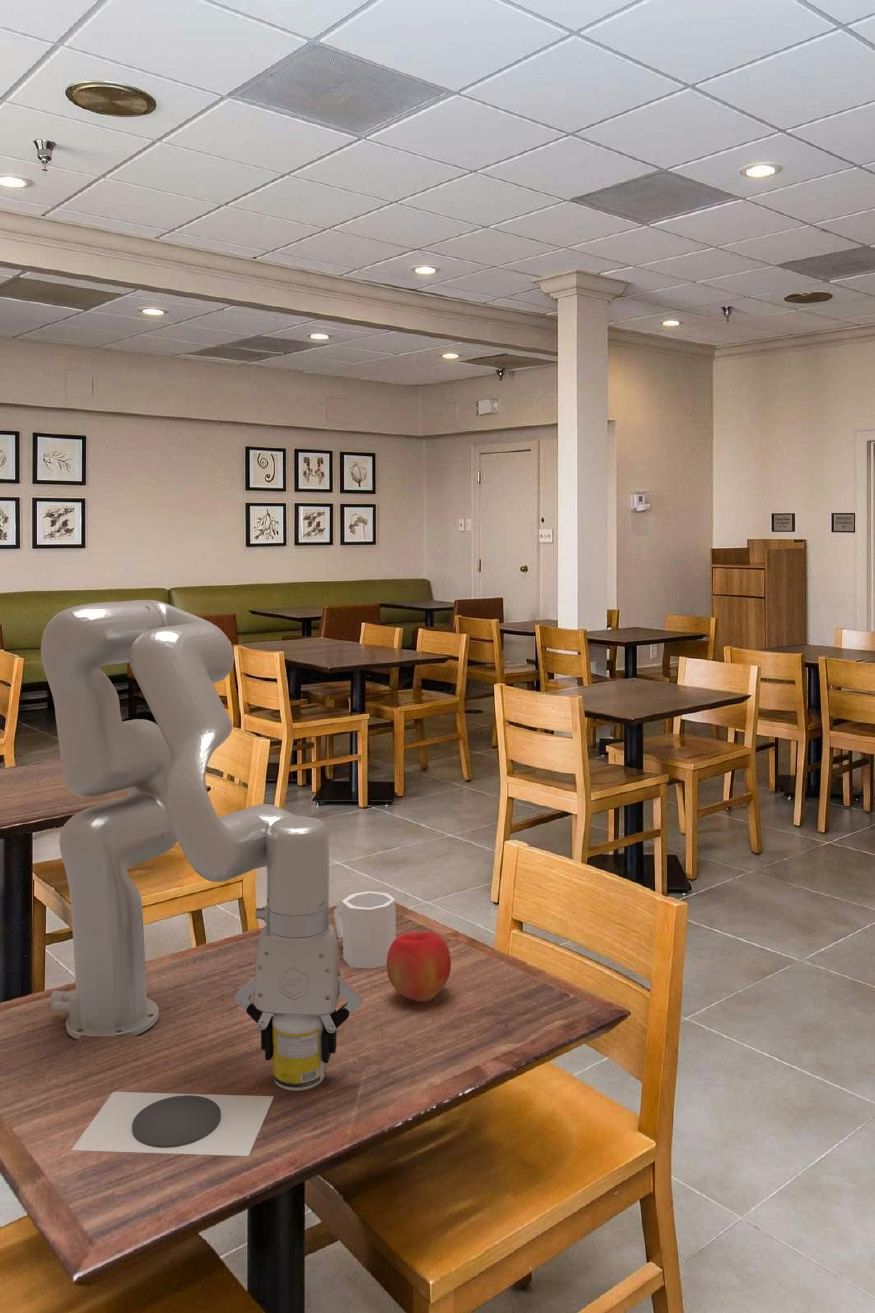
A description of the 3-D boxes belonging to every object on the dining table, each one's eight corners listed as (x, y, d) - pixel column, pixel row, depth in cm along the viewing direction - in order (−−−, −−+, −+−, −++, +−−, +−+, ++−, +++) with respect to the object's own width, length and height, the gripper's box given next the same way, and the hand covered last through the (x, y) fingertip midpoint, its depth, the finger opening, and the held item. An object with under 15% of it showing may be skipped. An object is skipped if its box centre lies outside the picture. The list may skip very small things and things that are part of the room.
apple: (461, 1005, 150) (461, 939, 149) (400, 1017, 146) (399, 950, 145) (437, 979, 159) (436, 917, 158) (379, 990, 155) (378, 926, 154)
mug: (406, 956, 167) (404, 898, 166) (368, 973, 161) (367, 913, 160) (355, 938, 175) (353, 883, 174) (317, 954, 169) (315, 896, 168)
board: (71, 1160, 114) (71, 1150, 113) (113, 1100, 125) (113, 1091, 125) (248, 1166, 112) (248, 1155, 112) (274, 1105, 124) (273, 1096, 124)
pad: (118, 1146, 114) (118, 1142, 114) (150, 1097, 124) (149, 1094, 124) (206, 1148, 113) (206, 1145, 113) (231, 1099, 123) (231, 1096, 123)
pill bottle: (300, 1060, 133) (299, 974, 131) (335, 1077, 129) (335, 990, 127) (262, 1080, 128) (261, 992, 126) (297, 1099, 124) (297, 1008, 122)
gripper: (220, 927, 122) (222, 1068, 125) (363, 934, 121) (363, 1075, 123) (236, 904, 130) (238, 1037, 132) (372, 910, 128) (371, 1044, 131)
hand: (298, 1054), depth 128 cm, fingers closed on pill bottle, 6 cm apart
